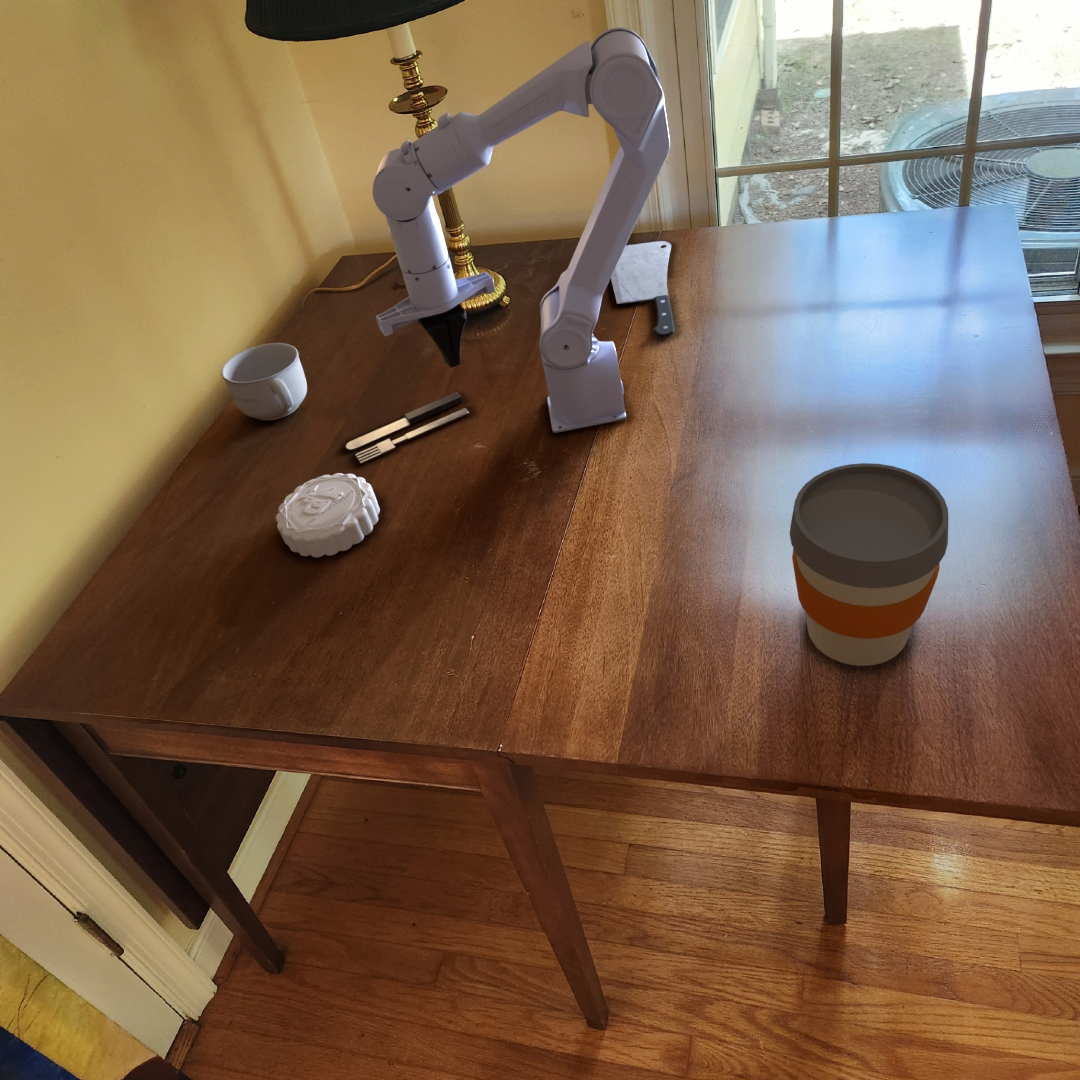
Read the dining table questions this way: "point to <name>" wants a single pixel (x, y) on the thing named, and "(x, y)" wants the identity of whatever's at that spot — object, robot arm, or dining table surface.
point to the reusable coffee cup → (866, 558)
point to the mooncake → (328, 515)
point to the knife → (406, 420)
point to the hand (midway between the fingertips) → (453, 362)
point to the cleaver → (645, 280)
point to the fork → (407, 437)
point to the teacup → (266, 380)
